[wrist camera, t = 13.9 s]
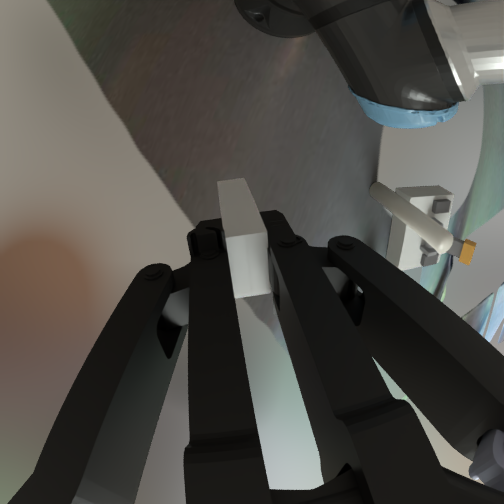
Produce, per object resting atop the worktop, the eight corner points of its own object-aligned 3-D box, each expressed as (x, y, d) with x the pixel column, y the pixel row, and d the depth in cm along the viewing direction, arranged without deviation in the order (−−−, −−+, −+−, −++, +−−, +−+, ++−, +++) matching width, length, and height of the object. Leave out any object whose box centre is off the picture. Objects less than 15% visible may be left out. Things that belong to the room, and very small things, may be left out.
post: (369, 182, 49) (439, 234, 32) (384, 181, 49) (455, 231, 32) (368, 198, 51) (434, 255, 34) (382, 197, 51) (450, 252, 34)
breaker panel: (395, 187, 50) (420, 204, 43) (439, 185, 51) (463, 200, 44) (385, 258, 58) (404, 280, 52) (426, 250, 59) (446, 269, 53)
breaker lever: (427, 227, 48) (474, 247, 41) (430, 224, 49) (476, 243, 42) (423, 246, 50) (469, 265, 43) (426, 242, 51) (470, 261, 44)
